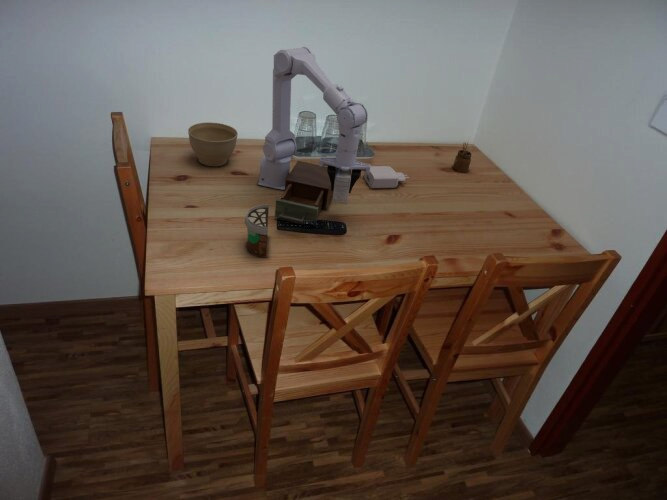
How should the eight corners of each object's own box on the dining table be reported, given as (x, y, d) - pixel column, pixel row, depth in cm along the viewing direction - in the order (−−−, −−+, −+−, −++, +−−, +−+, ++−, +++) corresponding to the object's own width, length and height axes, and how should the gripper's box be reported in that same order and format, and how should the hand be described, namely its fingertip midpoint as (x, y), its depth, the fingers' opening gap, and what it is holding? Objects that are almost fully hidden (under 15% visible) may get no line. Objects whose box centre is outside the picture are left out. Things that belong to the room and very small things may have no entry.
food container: (245, 232, 143) (246, 202, 137) (267, 234, 143) (269, 203, 138) (242, 259, 133) (243, 226, 127) (266, 260, 133) (268, 228, 128)
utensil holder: (469, 169, 198) (478, 140, 192) (464, 174, 194) (473, 145, 187) (455, 164, 201) (464, 135, 194) (450, 169, 196) (458, 140, 189)
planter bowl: (232, 174, 170) (233, 143, 164) (183, 168, 169) (182, 137, 163) (240, 154, 183) (241, 125, 177) (195, 148, 182) (194, 119, 176)
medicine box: (347, 204, 148) (351, 178, 143) (331, 202, 147) (335, 175, 142) (347, 191, 154) (351, 165, 149) (332, 189, 154) (336, 163, 149)
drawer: (310, 236, 144) (312, 218, 141) (268, 226, 145) (269, 209, 142) (325, 204, 160) (327, 188, 156) (287, 196, 161) (288, 180, 157)
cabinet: (325, 210, 159) (328, 188, 154) (283, 201, 160) (285, 179, 156) (335, 189, 170) (338, 169, 166) (296, 181, 172) (297, 160, 167)
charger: (411, 188, 178) (371, 189, 174) (401, 176, 185) (363, 177, 181) (414, 176, 176) (374, 177, 171) (404, 164, 183) (365, 164, 178)
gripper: (320, 150, 138) (315, 193, 146) (373, 157, 139) (365, 200, 147) (322, 139, 144) (316, 182, 152) (372, 146, 145) (364, 188, 152)
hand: (340, 190), depth 150 cm, fingers closed on medicine box, 4 cm apart
